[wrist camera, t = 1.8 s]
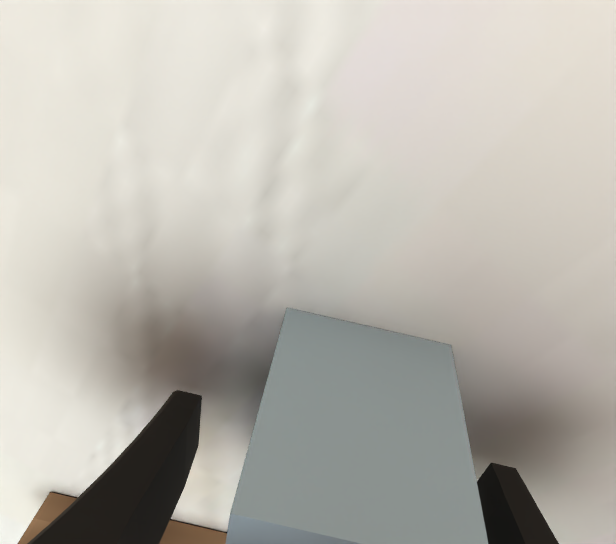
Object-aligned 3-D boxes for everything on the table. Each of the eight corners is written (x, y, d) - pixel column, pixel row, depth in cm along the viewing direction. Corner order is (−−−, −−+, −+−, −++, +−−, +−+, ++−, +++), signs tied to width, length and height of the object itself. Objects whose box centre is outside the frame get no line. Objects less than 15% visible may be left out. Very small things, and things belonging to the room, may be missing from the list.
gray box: (450, 342, 11) (493, 573, 7) (382, 478, 14) (383, 687, 10) (287, 305, 11) (230, 513, 7) (258, 450, 14) (209, 646, 10)
